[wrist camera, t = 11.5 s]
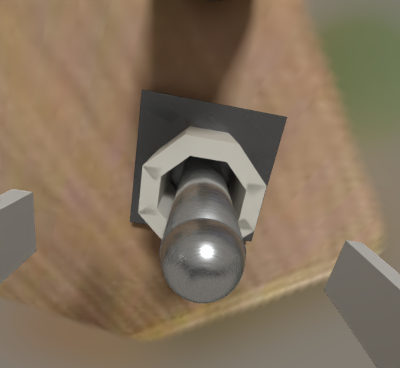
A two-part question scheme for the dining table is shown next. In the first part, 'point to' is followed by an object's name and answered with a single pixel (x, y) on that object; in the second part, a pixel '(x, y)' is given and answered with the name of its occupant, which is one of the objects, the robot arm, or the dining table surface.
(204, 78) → the dining table surface
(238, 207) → the ring
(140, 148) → the post
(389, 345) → the robot arm
